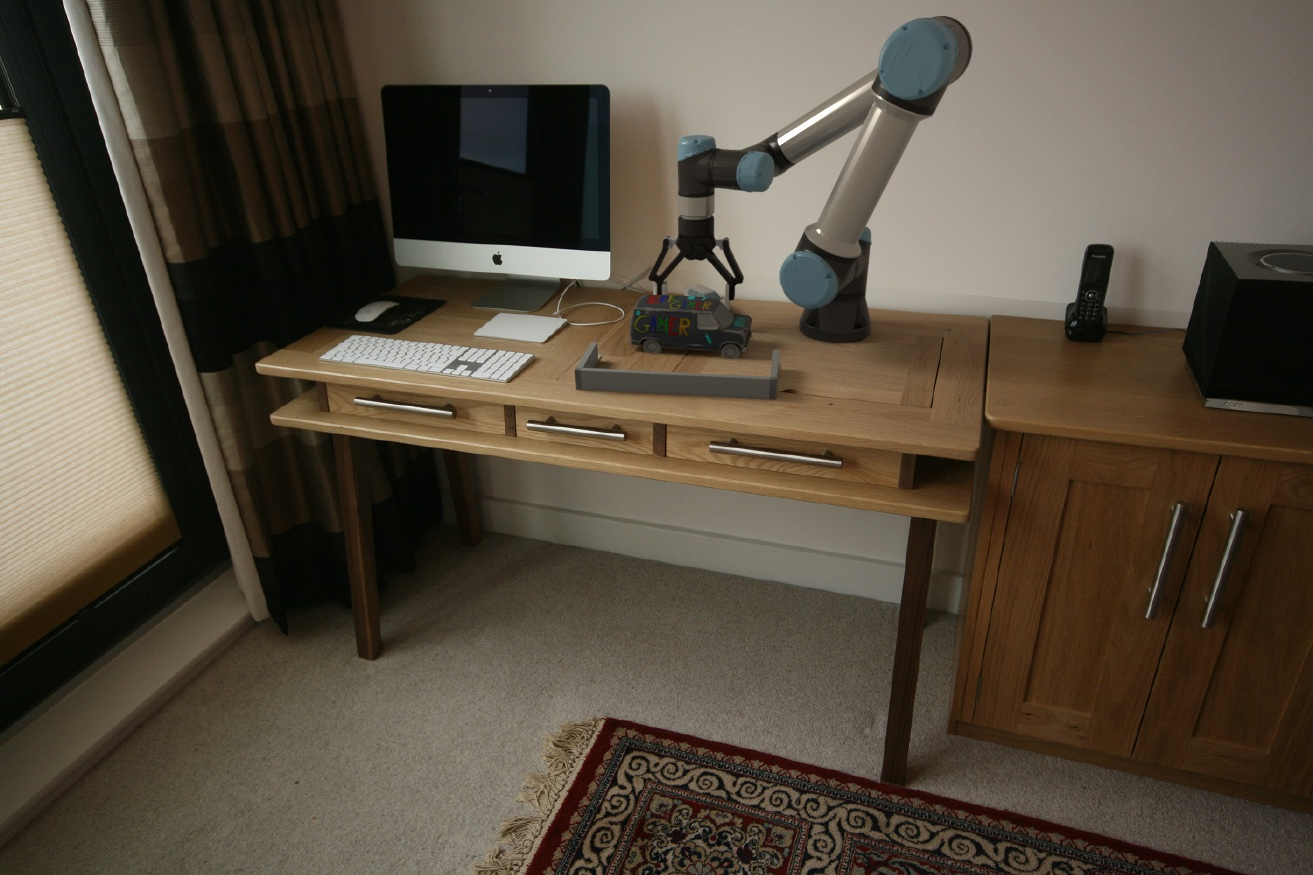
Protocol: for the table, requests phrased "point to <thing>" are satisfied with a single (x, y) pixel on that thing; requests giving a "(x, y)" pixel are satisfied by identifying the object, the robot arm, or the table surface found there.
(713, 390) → the bay
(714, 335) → the toy van
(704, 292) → the toy car
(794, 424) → the table surface
